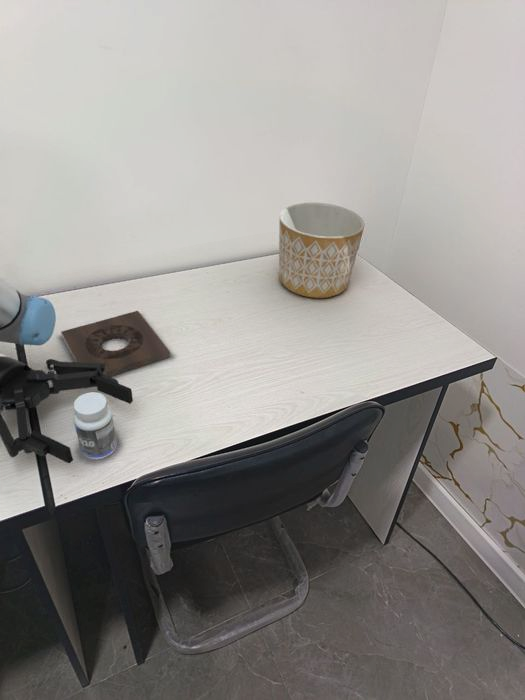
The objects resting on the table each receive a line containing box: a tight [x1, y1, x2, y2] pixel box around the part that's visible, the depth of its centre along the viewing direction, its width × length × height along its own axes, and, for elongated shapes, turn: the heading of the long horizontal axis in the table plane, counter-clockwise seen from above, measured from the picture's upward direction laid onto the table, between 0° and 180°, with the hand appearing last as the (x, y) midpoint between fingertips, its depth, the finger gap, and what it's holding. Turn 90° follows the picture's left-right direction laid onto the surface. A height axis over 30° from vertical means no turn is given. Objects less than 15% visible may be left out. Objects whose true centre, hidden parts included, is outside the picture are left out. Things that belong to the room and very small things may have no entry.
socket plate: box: [60, 310, 171, 380], centre depth 97 cm, size 16×16×2 cm
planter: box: [278, 202, 366, 299], centre depth 117 cm, size 19×19×16 cm
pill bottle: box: [73, 391, 118, 460], centre depth 75 cm, size 6×6×10 cm
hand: (102, 424), depth 74 cm, fingers open, 13 cm apart
